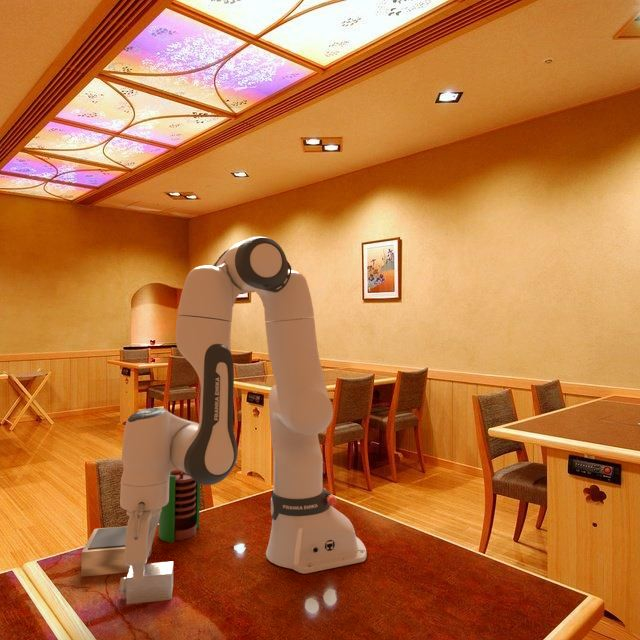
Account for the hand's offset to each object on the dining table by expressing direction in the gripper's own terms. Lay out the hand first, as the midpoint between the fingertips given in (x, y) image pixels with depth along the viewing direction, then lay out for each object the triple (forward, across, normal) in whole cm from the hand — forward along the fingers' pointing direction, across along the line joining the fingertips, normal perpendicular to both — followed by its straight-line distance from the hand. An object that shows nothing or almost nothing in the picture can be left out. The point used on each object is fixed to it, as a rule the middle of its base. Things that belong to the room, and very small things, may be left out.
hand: (142, 567), depth 97 cm
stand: (+5, +16, +7) cm, 18 cm away
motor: (+5, +28, -5) cm, 29 cm away
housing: (+5, 0, -2) cm, 6 cm away
